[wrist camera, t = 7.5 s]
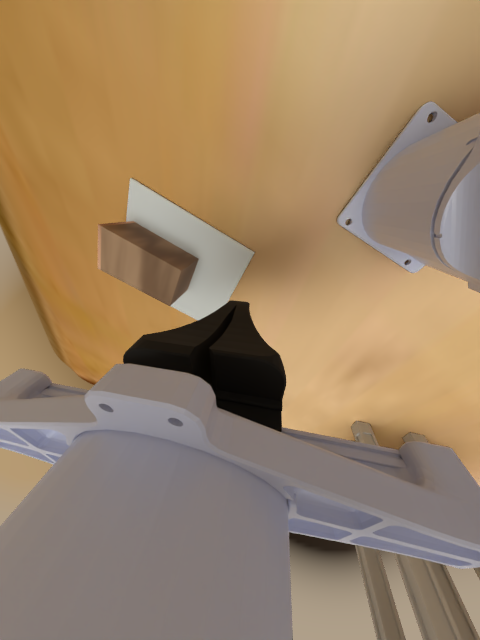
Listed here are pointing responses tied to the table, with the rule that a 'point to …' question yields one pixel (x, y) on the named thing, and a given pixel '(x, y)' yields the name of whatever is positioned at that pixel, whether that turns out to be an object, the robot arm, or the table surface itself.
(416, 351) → the table surface
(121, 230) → the walnut block
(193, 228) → the grey mat
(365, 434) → the stool
